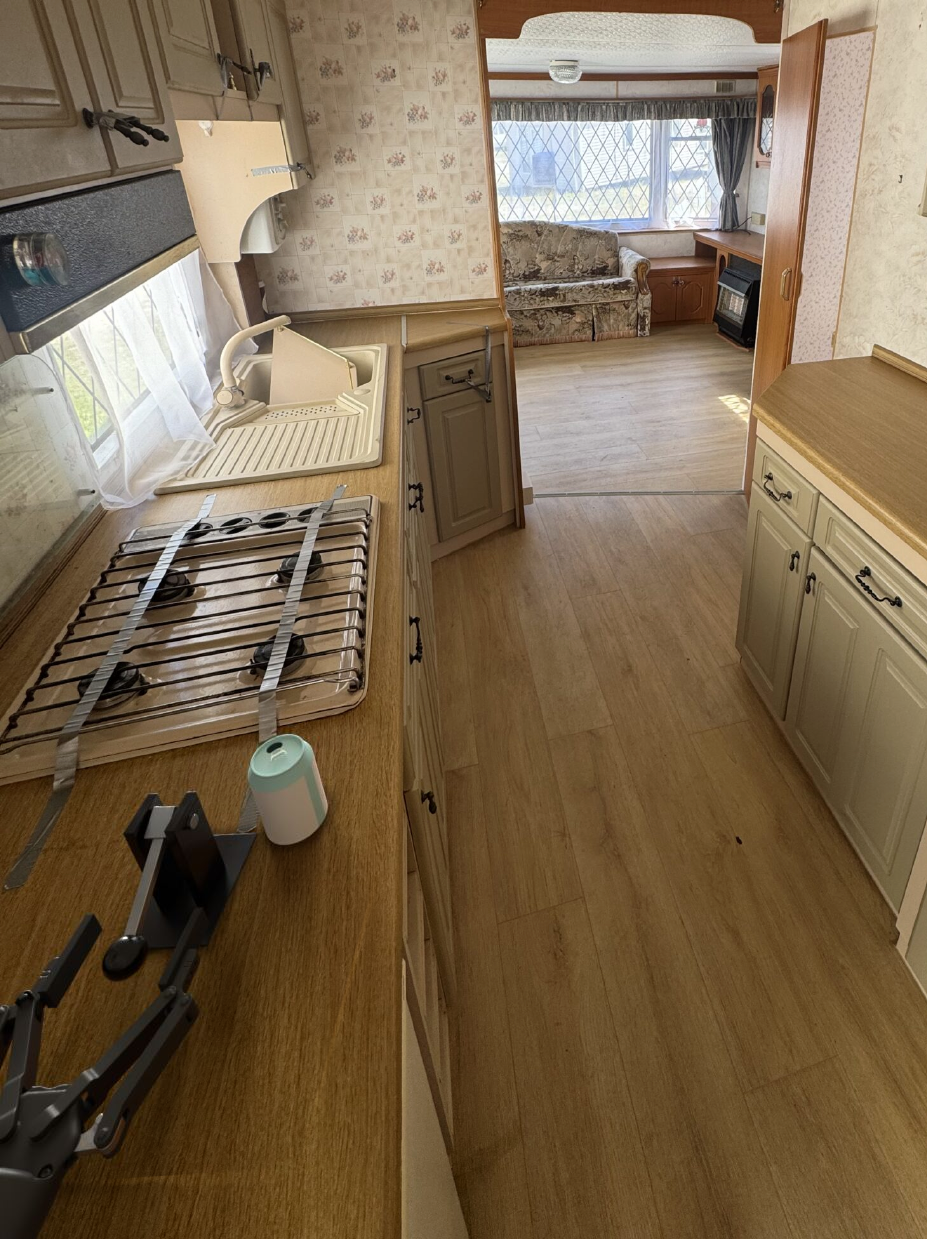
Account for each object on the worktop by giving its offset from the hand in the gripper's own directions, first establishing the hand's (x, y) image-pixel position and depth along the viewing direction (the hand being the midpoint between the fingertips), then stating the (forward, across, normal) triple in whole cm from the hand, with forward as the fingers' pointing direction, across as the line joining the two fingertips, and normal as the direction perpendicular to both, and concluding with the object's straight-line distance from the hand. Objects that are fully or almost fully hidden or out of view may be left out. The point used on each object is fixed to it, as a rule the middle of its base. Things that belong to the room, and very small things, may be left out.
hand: (148, 918), depth 66 cm
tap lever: (+2, 0, +1) cm, 2 cm away
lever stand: (+6, 0, -6) cm, 9 cm away
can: (+14, +8, -6) cm, 17 cm away
